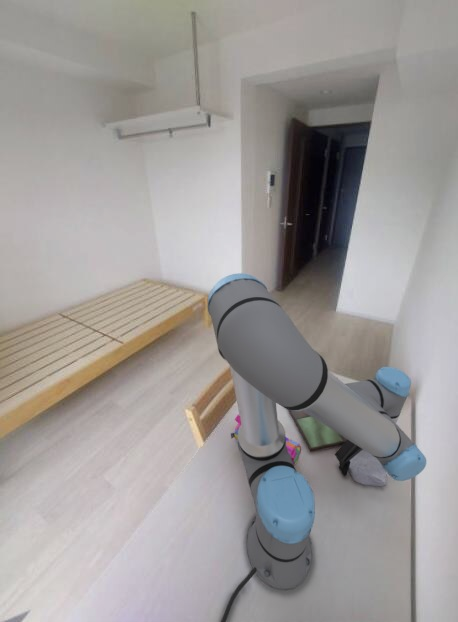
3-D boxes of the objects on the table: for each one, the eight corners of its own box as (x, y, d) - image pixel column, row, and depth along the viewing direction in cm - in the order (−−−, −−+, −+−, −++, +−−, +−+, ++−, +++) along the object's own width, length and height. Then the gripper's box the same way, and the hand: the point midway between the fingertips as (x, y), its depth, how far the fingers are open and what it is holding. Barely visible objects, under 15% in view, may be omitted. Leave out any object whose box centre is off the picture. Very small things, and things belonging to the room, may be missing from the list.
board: (310, 452, 87) (310, 448, 86) (282, 397, 107) (282, 394, 107) (375, 437, 91) (376, 434, 90) (336, 387, 112) (337, 384, 111)
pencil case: (229, 443, 90) (228, 425, 86) (244, 423, 97) (244, 406, 92) (289, 482, 79) (292, 463, 74) (302, 456, 85) (305, 438, 81)
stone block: (350, 486, 79) (388, 489, 76) (349, 475, 77) (388, 478, 74) (343, 450, 89) (376, 451, 87) (342, 440, 87) (377, 441, 85)
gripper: (345, 440, 67) (332, 488, 77) (431, 421, 71) (407, 469, 81) (329, 416, 73) (319, 463, 83) (408, 400, 77) (389, 447, 87)
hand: (362, 466), depth 82 cm, fingers open, 13 cm apart
